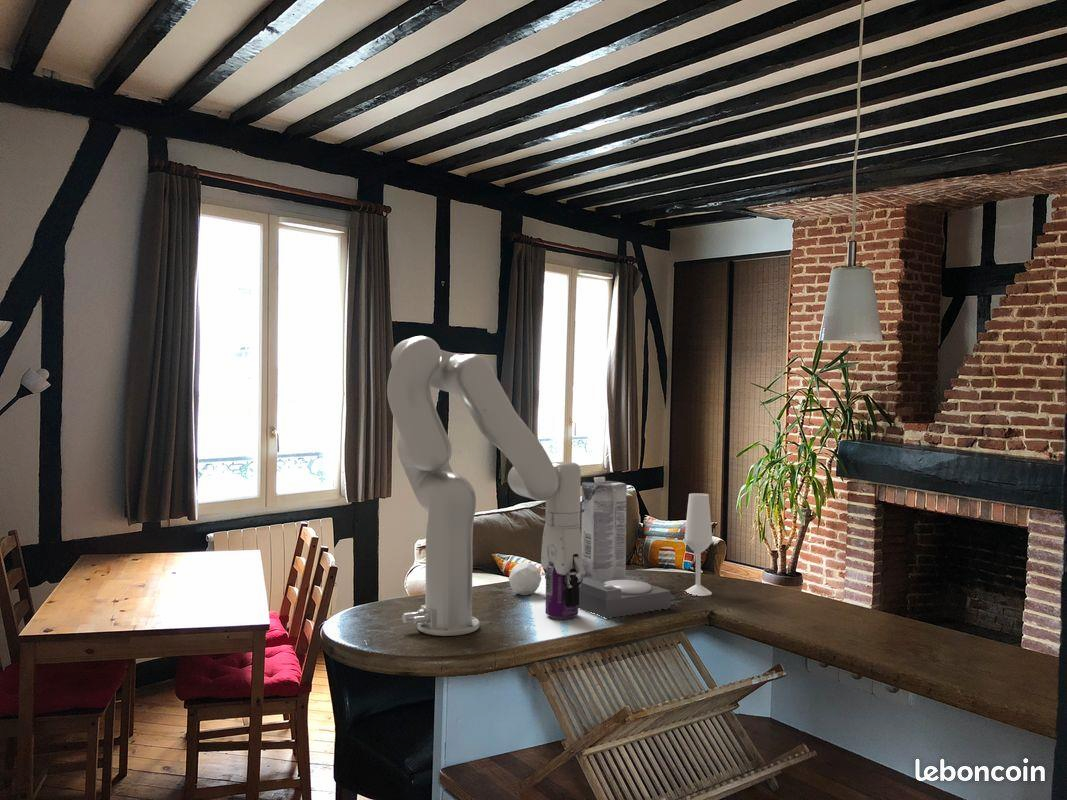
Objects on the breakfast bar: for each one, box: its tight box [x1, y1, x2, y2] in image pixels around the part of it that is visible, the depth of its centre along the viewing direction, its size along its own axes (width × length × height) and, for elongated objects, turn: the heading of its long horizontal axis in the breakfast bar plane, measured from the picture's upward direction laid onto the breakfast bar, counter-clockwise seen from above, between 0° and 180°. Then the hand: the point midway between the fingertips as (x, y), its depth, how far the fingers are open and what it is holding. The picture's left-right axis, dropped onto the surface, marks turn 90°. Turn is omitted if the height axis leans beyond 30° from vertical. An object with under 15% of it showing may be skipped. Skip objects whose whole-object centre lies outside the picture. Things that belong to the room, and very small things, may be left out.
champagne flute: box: [684, 492, 713, 597], centre depth 195 cm, size 7×7×24 cm
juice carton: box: [581, 476, 628, 583], centre depth 205 cm, size 9×10×27 cm
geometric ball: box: [508, 561, 542, 596], centre depth 192 cm, size 8×8×8 cm
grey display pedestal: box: [578, 577, 672, 618], centre depth 181 cm, size 18×13×7 cm
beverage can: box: [545, 561, 579, 620], centre depth 173 cm, size 7×7×12 cm
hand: (562, 601), depth 172 cm, fingers closed on beverage can, 6 cm apart
